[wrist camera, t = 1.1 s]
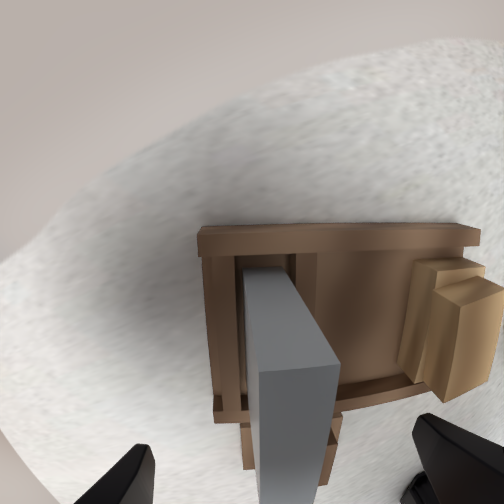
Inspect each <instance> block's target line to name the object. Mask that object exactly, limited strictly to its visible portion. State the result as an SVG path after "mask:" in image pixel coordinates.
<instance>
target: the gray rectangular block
mask: <svg viewBox="0 0 504 504" xmlns="http://www.w3.org/2000/svg"><path fill="white" fill-rule="evenodd" d="M242 273H243V305H244V334H245V361H246V384H247V394H248V404H249V414H250V424H251V434H252V443H253V452H254V462H255V471H256V480H257V488H258V497H259V504H313V502H314V499H315V495H316V491H317V487H318V483H319V479H320V475H321V470H322V466H323V462H324V457H325V452H326V448H327V443H328V438H329V433H330V427H331V422H332V417H333V411H334V405H335V399H336V393H337V387H338V380H339V373H340V366H341V363H340V361H339V360H338V358H337V356H336V355H335V353H334V351H333V350H332V348H331V346H330V345H329V343H328V341H327V340H326V338H325V336H324V335H323V333H322V331H321V330H320V328H319V326H318V325H317V323H316V321H315V320H314V318H313V316H312V315H311V313H310V311H309V310H308V308H307V306H306V305H305V303H304V301H303V300H302V298H301V296H300V295H299V293H298V292H297V290H296V288H295V287H294V285H293V283H292V282H291V280H290V278H289V277H288V275H287V274H286V272H285V270H284V269H283V267H282V266H277V267H252V268H242Z"/></svg>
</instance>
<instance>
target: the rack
mask: <svg viewBox="0 0 504 504" xmlns="http://www.w3.org/2000/svg"><path fill="white" fill-rule="evenodd" d="M480 234H481V229H477V228H473V227H470V226H466V225H462V224H458V223H310V224H267V225H234V226H207V227H201V229H200V231H199V232H198V234H197V244H198V257H202V272H203V286H204V300H205V313H206V325H207V336H208V347H209V357H210V367H211V376H212V386H213V394H214V399H213V416H214V424H217V423H246V422H250V414H249V404H248V394H247V384H246V361H245V334H244V305H243V273H242V268H252V267H277V266H282V267H283V269H284V270H285V272H286V274H287V275H288V277H289V278H290V280H291V282H292V283H293V285H294V287H295V288H296V290H297V292H298V293H299V295H300V296H301V298H302V300H303V301H304V303H305V305H306V306H307V308H308V310H309V311H310V313H311V315H312V316H313V318H314V320H315V321H316V323H317V325H318V326H319V328H320V330H321V331H322V333H323V335H324V336H325V338H326V340H327V341H328V343H329V345H330V346H331V348H332V350H333V351H334V353H335V355H336V356H337V358H338V360H339V361H340V363H341V366H340V373H339V380H338V387H337V393H336V399H335V405H334V411H333V413H337V412H343V411H349V410H354V409H359V408H364V407H369V406H374V405H378V404H383V403H387V402H391V401H395V400H399V399H403V398H407V397H411V396H415V395H418V394H422V393H425V392H429V391H432V390H431V389H430V388H429V387H428V386H427V385H426V384H425V382H424V381H423V382H419V383H415V384H414V383H413V382H412V381H411V379H410V378H409V377H408V376H407V375H406V374H405V372H404V371H403V370H402V369H401V368H400V367H399V365H398V364H397V359H398V355H399V350H400V345H401V340H402V335H403V329H404V324H405V318H406V312H407V306H408V299H409V292H410V284H411V276H412V267H413V260H415V259H431V258H447V257H463V250H464V247H467V246H479V244H480Z"/></svg>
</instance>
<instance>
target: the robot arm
mask: <svg viewBox="0 0 504 504" xmlns="http://www.w3.org/2000/svg"><path fill="white" fill-rule="evenodd" d="M412 437H413V440H414V442H415V445H416V448H417V451H418V454H419V457H420V460H421V462H422V465H423V468H424V470H425V472H424V473H421V474H419V475H417V476H416V477H415V478H414V480H413V482H412V483H411V485H410V487H409V488H408V490H407V492H406V493H405V495H404V496H403V498H402V500H401V501H400V503H401V504H504V447H502V446H501V445H498V444H496V443H494V442H491V441H489V440H487V439H484V438H482V437H480V436H478V435H476V434H473V433H471V432H469V431H467V430H465V429H462V428H460V427H458V426H456V425H454V424H452V423H450V422H447V421H445V420H443V419H441V418H439V417H437V416H435V415H433V414H431V413H426V414H422V415H420V416H419V417H418V418H417V421H416V423H415V426H414V428H413V431H412ZM154 476H155V459H154V457H153V454H152V451H151V448H150V446H149V445H147V444H135V445H134V446H133V447H132V448H131V449H130V450H129V451H128V452H127V453H126V454H125V455H124V456H123V457H122V458H121V459H120V460H119V461H118V462H117V463H116V464H115V465H114V466H113V467H112V468H111V469H110V470H109V471H108V472H107V473H106V474H105V475H104V476H102V477H101V478H100V479H99V480H98V481H97V482H96V483H95V484H94V485H93V486H92V487H91V488H90V489H89V490H88V491H87V492H86V493H84V494H83V495H82V496H81V497H80V498H79V499H78V500H77V501H76V502H75V503H74V504H153V491H154Z"/></svg>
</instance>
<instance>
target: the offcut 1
mask: <svg viewBox="0 0 504 504" xmlns="http://www.w3.org/2000/svg"><path fill="white" fill-rule="evenodd" d="M485 268H486V267H485V266H483V265H480V264H478V263H476V262H473V261H471V260H468V259H466V258H463V257H447V258H431V259H415V260H413V267H412V276H411V284H410V292H409V299H408V306H407V312H406V318H405V324H404V329H403V335H402V340H401V345H400V350H399V355H398V359H397V364H398V365H399V367H400V368H401V369H402V370H403V371H404V372H405V374H406V375H407V376H408V377H409V378H410V379H411V381H412V382H413V383H414V384H415V383H419V382H423V376H424V370H425V363H426V355H427V348H428V339H429V329H430V317H431V303H432V290H433V289H437V288H440V287H443V286H446V285H450V284H453V283H456V282H459V281H462V280H465V279H469V278H472V277H475V276H480V277H482V278H484V274H485Z"/></svg>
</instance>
